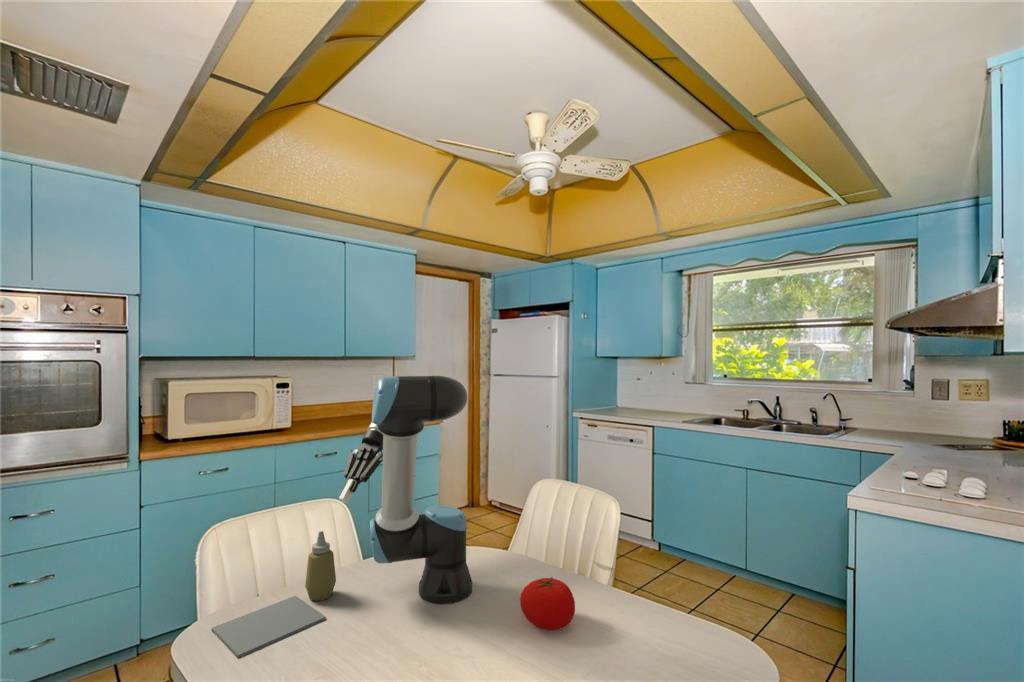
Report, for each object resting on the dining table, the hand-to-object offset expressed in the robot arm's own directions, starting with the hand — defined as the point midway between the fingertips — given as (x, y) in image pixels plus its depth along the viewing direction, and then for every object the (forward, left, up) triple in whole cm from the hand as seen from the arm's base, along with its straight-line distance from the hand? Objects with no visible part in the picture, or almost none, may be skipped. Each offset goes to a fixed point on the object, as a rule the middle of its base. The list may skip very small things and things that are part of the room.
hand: (343, 500), depth 148 cm
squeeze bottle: (-3, +9, -24) cm, 26 cm away
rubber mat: (-7, +24, -24) cm, 35 cm away
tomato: (-59, -22, -24) cm, 68 cm away
